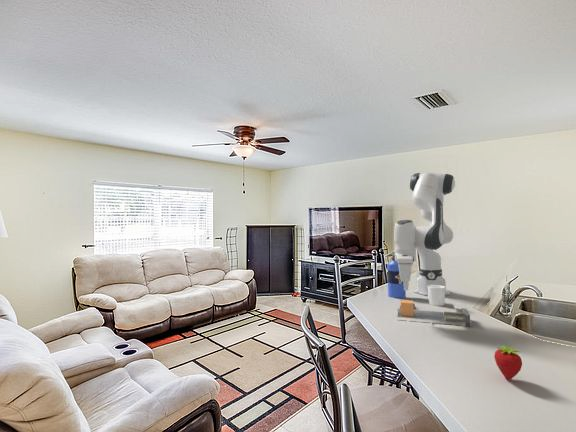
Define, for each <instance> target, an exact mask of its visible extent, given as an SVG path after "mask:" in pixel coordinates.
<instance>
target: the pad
mask: <svg viewBox="0 0 576 432" xmlns="http://www.w3.org/2000/svg"><path fill="white" fill-rule="evenodd" d="M413 308H414V310H417V306H416V303H414V302H413ZM399 309H401V304H400V305H399Z"/></svg>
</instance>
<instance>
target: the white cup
mask: <svg viewBox="0 0 576 432" xmlns="http://www.w3.org/2000/svg"><path fill="white" fill-rule="evenodd" d="M427 288H428V295H427V297H428V298H427V299H428V304H429V305H431V306H437V307H438V306H440V307H442V306H445V302H446V295H445V286H441V285H428V286H427Z"/></svg>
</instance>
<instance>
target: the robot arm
mask: <svg viewBox="0 0 576 432" xmlns="http://www.w3.org/2000/svg"><path fill="white" fill-rule="evenodd" d="M455 180H456V179H455V177H454V176H453V175H452V174H449V173H440V172H418V173H417V172H416V173H413V174H412V175H411V177H410V179H409V189H410V190H411V191H412V196H411V201H412V202H413V204H414V206H415V207H417V208H418V209H420V215H421V218H423V219H424V220H426V221H428V222H429V225H420V226H419V225H417V226H415V223H414V221H413V220H411V219H403V220H402V219H401V220H398V221H396V222H395V225H394V228H393V229H394V230H393V232H394V233H393V236H394V237H393V240H394V244H395V245H394V253H395V261H397V263H398V266H399V273H400V279H401V281H403V285H404V290H406V291H409V284H410V282H411V275H412V267H413V265H414V262H416V261H417V253H418V256H419V270H418V271H419V276H418V277H417V279H416V288H415V289H414V290H413V293H416V294H420V295H422V296H423V295H424V296H428V288H427V286H428V285H441V286H445V296H447V295H450V294H451V293H450V291H448V290H447V284H446V282H447V281H446V278H444V277H443V269H442V260H441V259H442V257H441V254H439V253H438V252H436V250H438V249H440V248H441V247H442V246H443V245H445V244H450V243H451V242H452V241H453V238H454V231H453V229H452V228H451V227H449V226H448V225H447V223H446V222H445V220H444V202H445V201H444V197H445V196H446V195H449V194H451V193H452V192H453V190H454V189H455V187H456V181H455ZM416 251H417V252H416Z"/></svg>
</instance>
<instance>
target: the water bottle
mask: <svg viewBox="0 0 576 432" xmlns="http://www.w3.org/2000/svg"><path fill="white" fill-rule="evenodd" d="M386 271H387V276H388V278H387V295H388V297H389V298H393V299H404V298H406V297H407V295H406V294H407V293H406V291H407V290H404V285H403V281H401V279H400V273H399V266H398V263H397V261H395V252H393V253H392V254H391V261H389V262H387V263H386Z"/></svg>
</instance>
